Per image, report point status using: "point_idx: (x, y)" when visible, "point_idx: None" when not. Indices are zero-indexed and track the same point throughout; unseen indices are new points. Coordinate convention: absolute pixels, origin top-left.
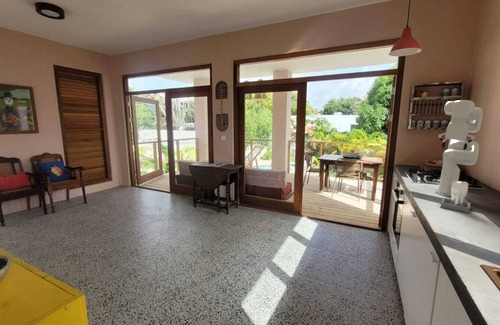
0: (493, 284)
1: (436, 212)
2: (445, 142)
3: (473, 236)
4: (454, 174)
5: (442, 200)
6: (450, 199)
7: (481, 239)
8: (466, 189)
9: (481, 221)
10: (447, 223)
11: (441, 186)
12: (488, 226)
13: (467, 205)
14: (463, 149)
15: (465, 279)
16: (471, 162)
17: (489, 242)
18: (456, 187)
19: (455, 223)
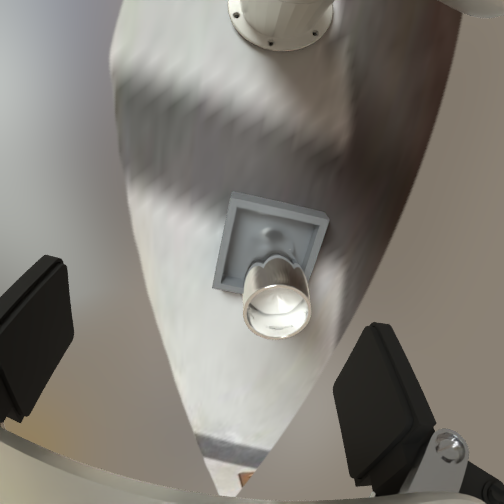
0: (241, 487)
1: (198, 335)
2: (9, 383)
3: (255, 424)
4: (313, 4)
5: (220, 252)
6: (258, 211)
7: (266, 428)
8: (298, 312)
9: (308, 344)
10: (218, 394)
11: (246, 13)
12: (310, 369)
13: (308, 256)
14: (335, 397)
15: (218, 488)
16: (457, 9)
17: (275, 432)
18: (256, 319)
19: (236, 387)
